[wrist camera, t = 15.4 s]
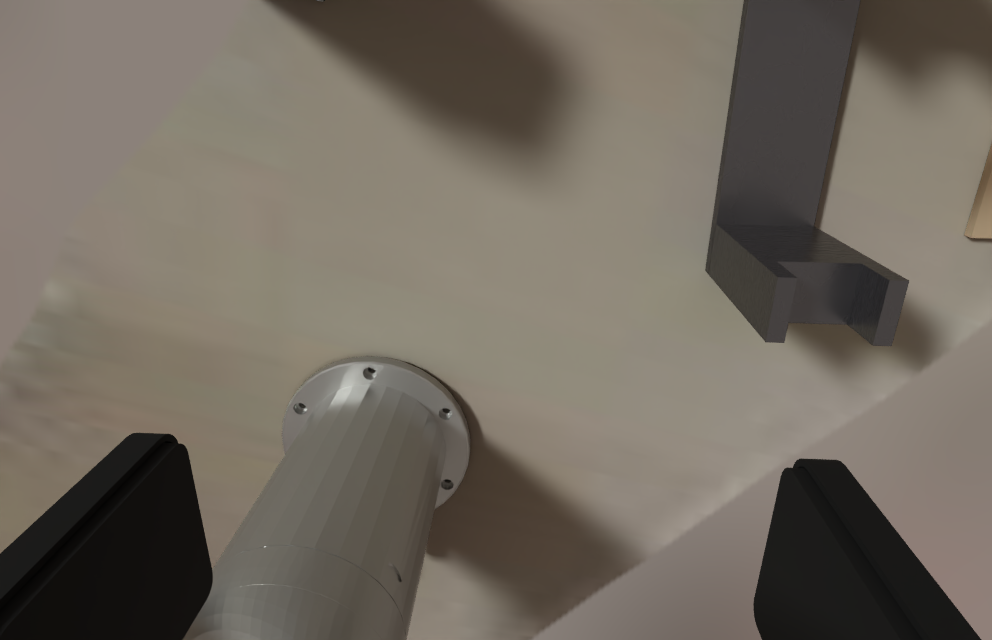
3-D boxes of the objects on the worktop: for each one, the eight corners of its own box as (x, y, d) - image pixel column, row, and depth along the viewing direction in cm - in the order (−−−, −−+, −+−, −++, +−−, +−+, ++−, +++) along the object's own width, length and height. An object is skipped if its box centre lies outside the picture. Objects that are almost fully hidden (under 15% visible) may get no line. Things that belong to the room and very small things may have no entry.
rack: (798, 273, 37) (891, 346, 27) (705, 270, 37) (765, 342, 28) (875, -108, 30) (1037, -190, 20) (759, -108, 30) (866, -189, 21)
